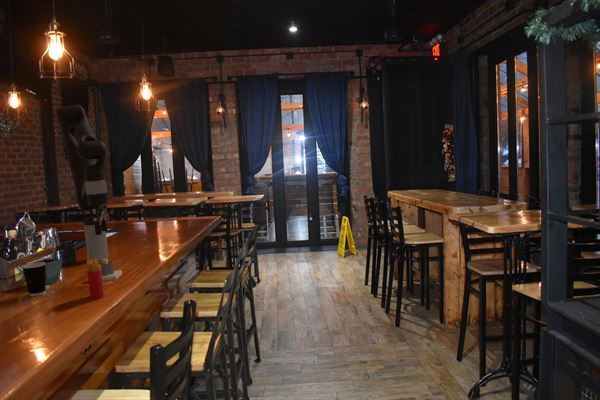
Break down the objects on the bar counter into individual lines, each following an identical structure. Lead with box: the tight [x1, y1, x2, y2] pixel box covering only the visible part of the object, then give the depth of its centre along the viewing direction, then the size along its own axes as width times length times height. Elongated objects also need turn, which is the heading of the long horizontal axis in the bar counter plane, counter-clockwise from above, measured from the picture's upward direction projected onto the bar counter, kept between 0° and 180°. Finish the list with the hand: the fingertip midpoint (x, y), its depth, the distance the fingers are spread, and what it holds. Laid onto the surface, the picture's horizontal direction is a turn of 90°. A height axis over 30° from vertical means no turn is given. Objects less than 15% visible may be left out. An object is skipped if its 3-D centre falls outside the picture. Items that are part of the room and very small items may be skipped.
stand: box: [100, 258, 123, 282], centre depth 195 cm, size 10×10×8 cm
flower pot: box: [27, 258, 62, 286], centre depth 193 cm, size 9×9×9 cm
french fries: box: [86, 258, 105, 301], centre depth 168 cm, size 9×4×13 cm, turn 19°
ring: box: [99, 260, 115, 276], centre depth 195 cm, size 6×6×4 cm
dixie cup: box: [20, 262, 47, 297], centre depth 177 cm, size 8×8×11 cm
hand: (101, 233), depth 194 cm, fingers open, 8 cm apart
